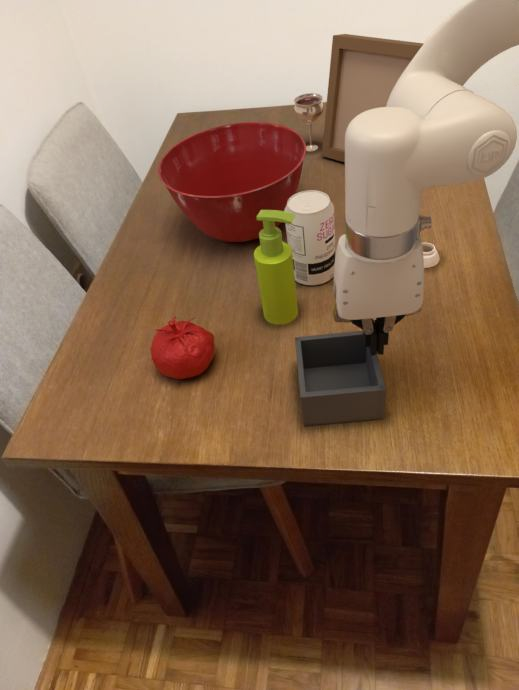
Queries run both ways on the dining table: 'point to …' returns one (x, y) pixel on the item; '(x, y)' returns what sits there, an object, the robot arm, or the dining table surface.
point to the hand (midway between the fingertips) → (375, 347)
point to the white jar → (430, 255)
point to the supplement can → (312, 236)
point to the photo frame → (360, 82)
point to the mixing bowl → (234, 176)
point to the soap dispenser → (275, 269)
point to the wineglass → (309, 112)
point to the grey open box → (339, 379)
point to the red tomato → (182, 349)
